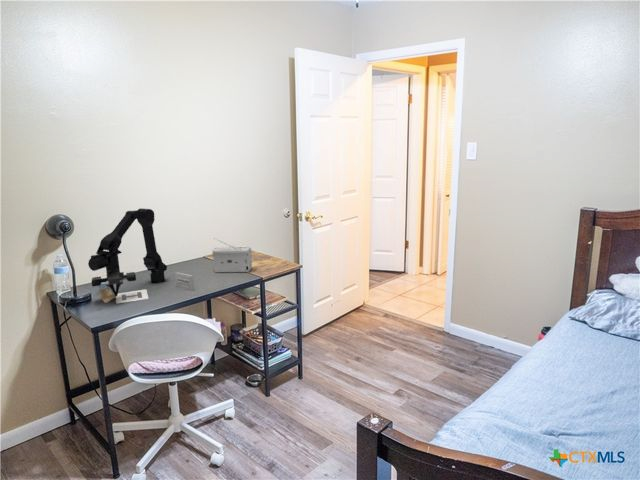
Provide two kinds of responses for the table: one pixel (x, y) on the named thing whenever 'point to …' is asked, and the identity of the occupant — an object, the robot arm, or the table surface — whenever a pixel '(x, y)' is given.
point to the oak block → (106, 294)
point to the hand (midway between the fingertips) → (116, 296)
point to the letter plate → (131, 296)
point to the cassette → (183, 284)
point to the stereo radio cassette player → (232, 259)
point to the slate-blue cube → (103, 286)
